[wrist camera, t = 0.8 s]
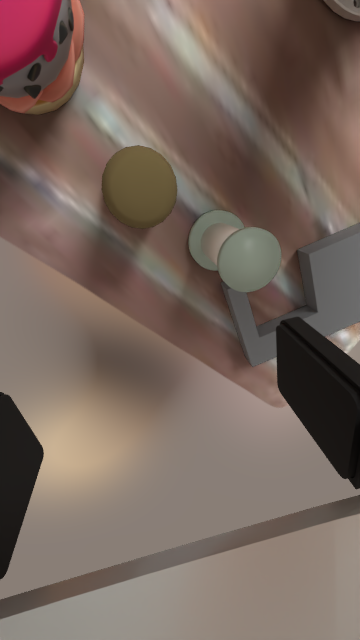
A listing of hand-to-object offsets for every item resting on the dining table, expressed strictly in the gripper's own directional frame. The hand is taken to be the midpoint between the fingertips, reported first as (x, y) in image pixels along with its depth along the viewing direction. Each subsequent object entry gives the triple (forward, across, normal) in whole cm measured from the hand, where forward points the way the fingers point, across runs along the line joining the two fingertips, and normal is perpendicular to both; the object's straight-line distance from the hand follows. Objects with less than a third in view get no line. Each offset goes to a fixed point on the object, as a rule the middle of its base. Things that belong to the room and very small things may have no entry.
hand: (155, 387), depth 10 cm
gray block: (+23, -20, +10) cm, 32 cm away
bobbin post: (+23, -9, +1) cm, 25 cm away
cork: (+23, -1, -6) cm, 24 cm away
